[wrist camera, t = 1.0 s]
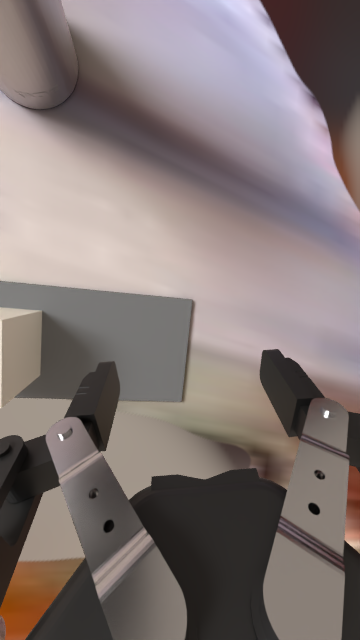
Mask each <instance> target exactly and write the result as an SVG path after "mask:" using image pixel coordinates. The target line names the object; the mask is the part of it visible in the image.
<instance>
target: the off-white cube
mask: <svg viewBox="0 0 360 640" xmlns="http://www.w3.org/2000/svg"><path fill="white" fill-rule="evenodd" d="M41 334H42V311H40V310H27V309H15V308H2V307H0V408H2V407H3V406H4V405H6V404H7V403H8V402H9V401H10V400H12V399H13V398H14V397H15V396H16V395H17V394H19V393H20V392H21V391H22V390H23V389H25V388H26V387H27V386H28V385H29V384H30V383H32V382H33V381H34V380H35V379H36V378H38V377H39V376H40V368H41Z"/></svg>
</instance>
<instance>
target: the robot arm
mask: <svg viewBox="0 0 360 640" xmlns="http://www.w3.org/2000/svg"><path fill="white" fill-rule="evenodd" d="M77 78H78V59H77V56H76V52H75V48H74V45H73V41H72V38H71V34H70V31H69V27H68V24H67V20H66V17H65V13H64V9H63V6H62V3H61V0H0V90H1V91H2V92H3V93H4V94H5V95H6V96H7V97H8V98H10V99H12V100H13V101H15V102H16V103H18V104H20V105H23V106H25V107H28V108H33V109H48V108H52V107H55V106H57V105H59V104H61V103H63V102H64V101H65V100H66V99H67V98H68V97H69V96H70V95H71V93H72V91H73V90H74V88H75V85H76V82H77ZM260 380H261V383H262V386H263V388H264V390H265V391H266V393H267V395H268V397H269V399H270V401H271V403H272V405H273V407H274V409H275V411H276V413H277V415H278V417H279V419H280V421H281V423H282V425H283V427H284V429H285V431H286V433H287V435H288V437H294V436H298V438H299V440H300V444H299V448H298V452H297V455H296V459H295V463H294V467H293V471H292V474H291V478H290V482H289V486H288V490H286V489H285V488H283V487H282V486H280V485H278V484H277V483H275V482H272V481H270V480H267V479H264V478H260V477H259V476H258V473H257V470H256V468H252V469H239V470H230V471H227V472H225V473H222V474H219V475H217V476H214V477H211V478H209V479H206V480H203V479H198V478H192V477H187V476H182V475H167V476H154V477H152V482H151V484H152V485H151V486H150V487H147V488H145V489H143V490H142V491H140V492H138V493H137V494H135V495H134V496H133V497H132V498H131V499H130V500H128V498H127V497H126V495H125V494H124V492H123V490H122V488H121V486H120V484H119V483H118V481H117V479H116V478H115V476H114V474H113V472H112V470H111V469H110V467H109V465H108V463H107V462H106V460H105V458H104V456H103V455H102V453H101V452H100V451H106V448H107V443H108V440H109V436H110V431H111V428H112V424H113V420H114V415H115V412H116V408H117V404H118V400H119V396H120V382H119V377H118V373H117V369H116V364H115V362H114V361H108V362H99V364H98V366H97V368H96V371H95V372H90V373H89V374H87V375H86V376H85V377H84V378H83V379H82V382H81V384H80V386H79V388H78V390H77V392H76V395H75V396H74V398H73V400H72V402H71V405H70V407H69V409H68V411H67V413H66V415H65V417H64V419H62V420H59V421H58V422H56V423H55V424H54V425H53V426H51V428H50V429H49V430H48V432H47V434H46V435H43V436H40V437H37V438H35V439H32V440H29V441H26V442H24V441H23V439H22V438H21V437H20V436H16V435H11V436H7V437H4V438H2V439H0V607H1V605H2V602H3V599H4V597H5V594H6V591H7V589H8V586H9V583H10V581H11V578H12V575H13V573H14V570H15V567H16V564H17V562H18V559H19V556H20V554H21V551H22V548H23V546H24V542H25V540H26V538H27V535H28V532H29V530H30V527H31V524H32V522H33V519H34V516H35V514H36V511H37V508H38V505H39V503H40V500H41V497H42V494H43V492H45V491H48V490H50V489H53V488H55V487H58V486H61V489H62V492H63V494H64V497H65V500H66V503H67V506H68V509H69V511H70V514H71V517H72V520H73V523H74V526H75V529H76V531H77V534H78V537H79V540H80V543H81V546H82V548H83V551H84V554H85V559H84V560H83V562H82V563H81V564H80V566H79V567H78V568H77V570H76V571H75V572H74V574H73V575H72V576H71V578H70V579H69V581H68V582H67V583H66V585H65V586H64V587H63V589H62V590H61V591H60V593H59V594H58V596H57V597H56V598H55V600H54V601H53V602H52V604H51V605H50V606H49V608H48V609H47V610H46V612H45V613H44V615H43V616H42V617H41V619H40V620H39V621H38V623H37V624H36V625H35V627H34V628H33V629H32V631H31V632H30V634H29V635H28V636H27V638H26V639H25V640H360V554H359V553H358V552H357V551H356V550H355V549H354V548H353V547H351V546H350V545H349V544H348V543H347V542H346V541H345V540H344V535H345V520H346V504H347V488H348V473H349V465H350V466H355V467H356V468H357V469H358V471H359V472H360V414H358V413H352V412H348V411H347V410H346V409H345V408H344V407H343V406H342V405H341V404H339V403H338V402H336V401H334V400H331V399H328V398H325V397H324V396H323V394H322V393H321V392H320V391H319V389H318V388H317V387H316V386H315V384H314V383H313V382H312V381H311V379H310V378H308V376H307V374H306V373H305V372H304V371H303V369H302V368H301V367H300V365H299V364H298V363H296V362H295V361H293V360H292V359H290V358H285V357H284V356H283V355H282V353H281V352H280V351H279V350H278V349H274V350H263V352H262V359H261V367H260ZM98 451H99V452H98ZM0 640H5V622H4V620H3V618H2V617H1V616H0Z"/></svg>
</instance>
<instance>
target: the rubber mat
mask: <svg viewBox="0 0 360 640" xmlns="http://www.w3.org/2000/svg"><path fill="white" fill-rule="evenodd" d="M0 307H2V308H15V309H27V310H40V311H42V334H41V368H40V376H39V377H38V378H36V379H35V380H34V381H33V382H32V383H30V384H29V385H28V386H27V387H26V388H25V389H23V390H22V391H21V392H20V393H19V394H17V395H16V396H15V397H14V398H52V399H73V398H74V396H75V395H76V392H77V390H78V388H79V386H80V384H81V382H82V379H83V378H84V377H85V376H86V375H87V374H89V373H90V372H95V371H96V368H97V366H98V364H99V362H108V361H114V362H115V364H116V369H117V373H118V377H119V382H120V396H119V400H132V401H172V402H181V401H182V392H183V383H184V373H185V364H186V355H187V345H188V336H189V327H190V317H191V308H192V299H181V298H171V297H161V296H150V295H140V294H129V293H119V292H109V291H98V290H88V289H77V288H67V287H57V286H46V285H36V284H26V283H15V282H5V281H0Z"/></svg>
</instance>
